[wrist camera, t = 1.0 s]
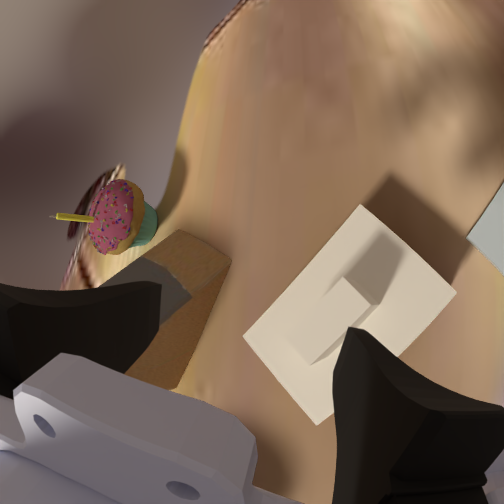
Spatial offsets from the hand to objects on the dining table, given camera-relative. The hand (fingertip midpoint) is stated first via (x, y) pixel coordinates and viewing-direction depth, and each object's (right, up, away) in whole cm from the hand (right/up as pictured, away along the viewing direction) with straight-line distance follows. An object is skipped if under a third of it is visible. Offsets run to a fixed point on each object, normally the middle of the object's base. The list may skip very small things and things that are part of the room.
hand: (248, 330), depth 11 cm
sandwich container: (-8, -3, +21) cm, 22 cm away
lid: (+6, -2, +9) cm, 11 cm away
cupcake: (-13, +6, +25) cm, 29 cm away
